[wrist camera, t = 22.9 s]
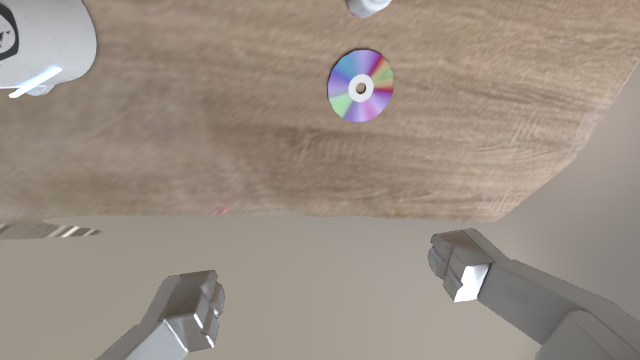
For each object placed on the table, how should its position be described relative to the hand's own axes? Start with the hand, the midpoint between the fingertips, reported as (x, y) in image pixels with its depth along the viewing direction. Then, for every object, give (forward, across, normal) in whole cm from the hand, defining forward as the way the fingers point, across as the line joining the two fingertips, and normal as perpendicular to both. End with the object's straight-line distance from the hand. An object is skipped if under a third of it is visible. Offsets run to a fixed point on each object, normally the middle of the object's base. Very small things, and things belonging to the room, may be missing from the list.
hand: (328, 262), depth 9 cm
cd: (+33, -11, -1) cm, 35 cm away
